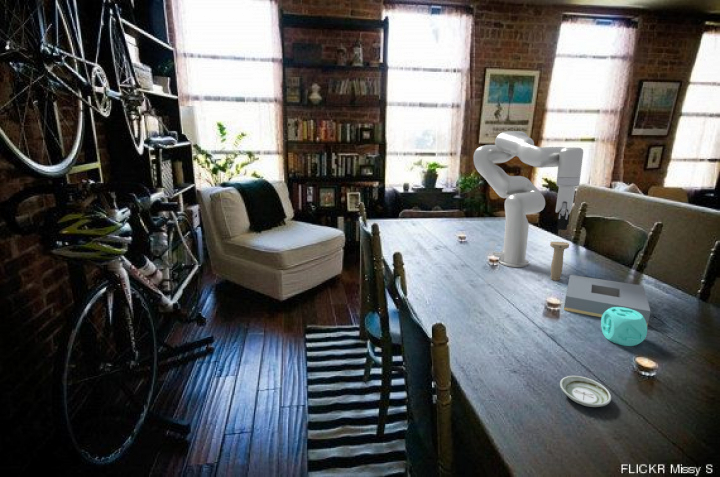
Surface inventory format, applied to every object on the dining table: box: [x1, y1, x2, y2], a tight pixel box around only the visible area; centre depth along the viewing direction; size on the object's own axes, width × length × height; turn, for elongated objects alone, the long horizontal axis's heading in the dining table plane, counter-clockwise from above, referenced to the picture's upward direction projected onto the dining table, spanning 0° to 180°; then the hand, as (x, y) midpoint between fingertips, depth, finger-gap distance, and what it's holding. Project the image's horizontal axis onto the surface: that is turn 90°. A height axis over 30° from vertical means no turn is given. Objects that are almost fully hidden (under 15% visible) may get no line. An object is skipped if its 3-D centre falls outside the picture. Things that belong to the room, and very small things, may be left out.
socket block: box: [563, 274, 651, 327], centre depth 124 cm, size 22×22×5 cm
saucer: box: [559, 375, 612, 408], centre depth 81 cm, size 10×10×2 cm
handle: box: [549, 241, 570, 282], centre depth 145 cm, size 5×6×15 cm
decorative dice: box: [600, 307, 648, 347], centre depth 103 cm, size 8×8×8 cm
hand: (562, 226), depth 141 cm, fingers open, 9 cm apart
